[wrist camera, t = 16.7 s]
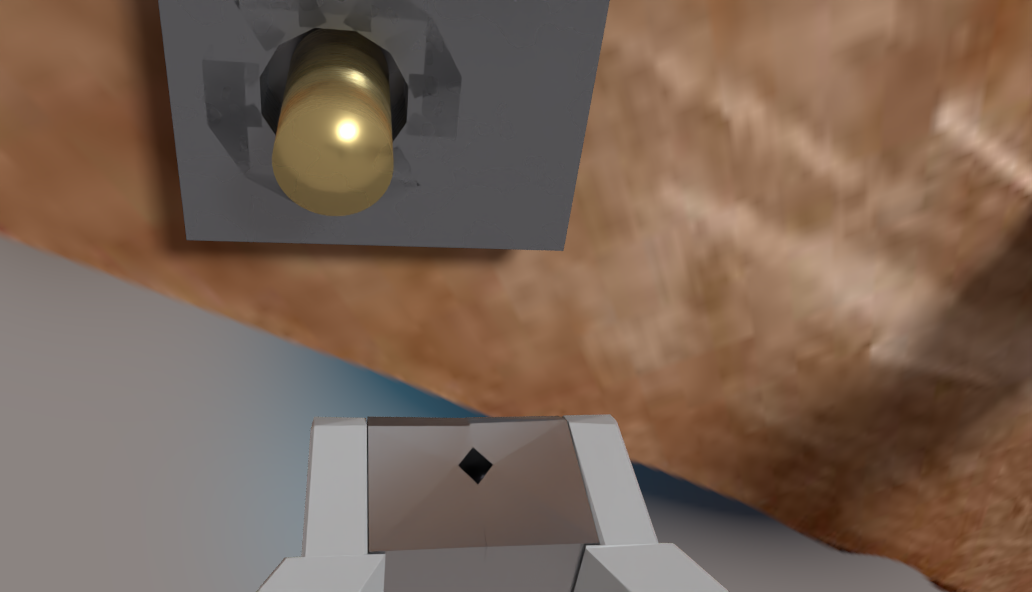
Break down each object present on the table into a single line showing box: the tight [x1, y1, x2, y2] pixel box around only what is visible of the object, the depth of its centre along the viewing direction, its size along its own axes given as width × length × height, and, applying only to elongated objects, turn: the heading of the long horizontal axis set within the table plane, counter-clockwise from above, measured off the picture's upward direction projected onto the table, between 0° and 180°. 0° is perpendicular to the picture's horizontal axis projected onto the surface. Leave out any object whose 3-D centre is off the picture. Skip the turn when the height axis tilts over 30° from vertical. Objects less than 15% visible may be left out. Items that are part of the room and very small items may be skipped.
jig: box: [158, 0, 610, 251], centre depth 34 cm, size 16×13×4 cm
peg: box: [272, 28, 394, 216], centre depth 32 cm, size 4×4×8 cm
